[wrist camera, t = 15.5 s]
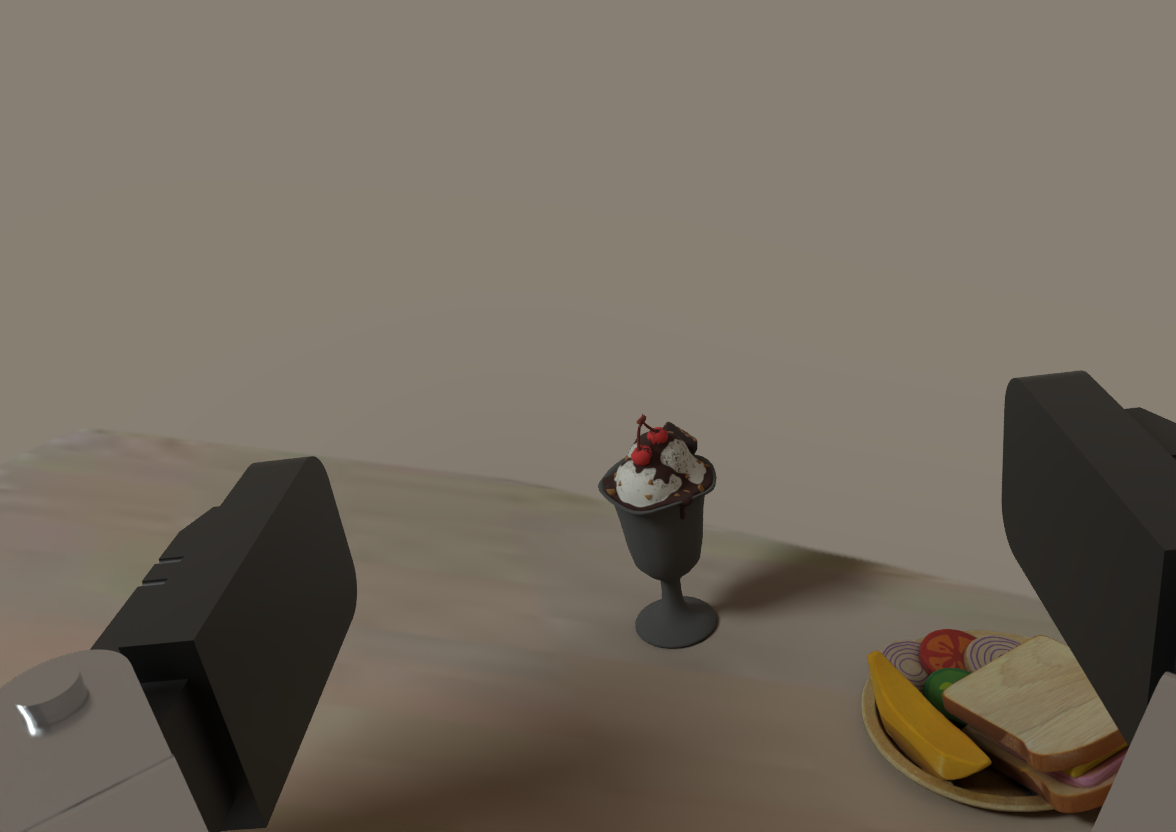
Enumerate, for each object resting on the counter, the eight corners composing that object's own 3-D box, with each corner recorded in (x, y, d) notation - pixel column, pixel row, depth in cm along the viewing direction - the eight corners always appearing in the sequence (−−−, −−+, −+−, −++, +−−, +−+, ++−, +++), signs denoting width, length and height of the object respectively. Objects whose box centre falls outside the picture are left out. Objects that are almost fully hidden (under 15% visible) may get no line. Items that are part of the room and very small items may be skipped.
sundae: (651, 674, 57) (615, 440, 51) (605, 613, 63) (568, 396, 57) (752, 633, 59) (730, 403, 53) (698, 578, 65) (672, 365, 59)
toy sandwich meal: (1006, 621, 57) (1009, 551, 55) (1216, 779, 46) (1229, 698, 44) (815, 696, 54) (810, 625, 52) (987, 887, 43) (990, 805, 41)
